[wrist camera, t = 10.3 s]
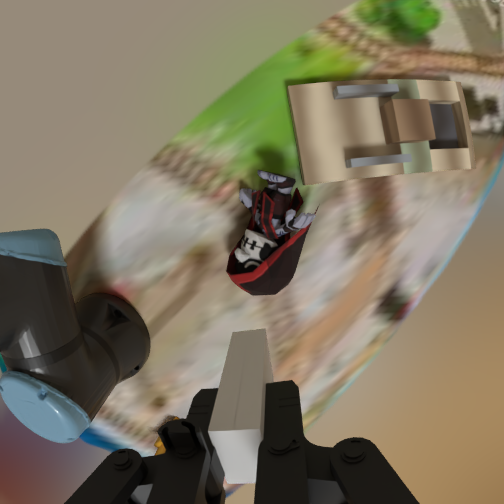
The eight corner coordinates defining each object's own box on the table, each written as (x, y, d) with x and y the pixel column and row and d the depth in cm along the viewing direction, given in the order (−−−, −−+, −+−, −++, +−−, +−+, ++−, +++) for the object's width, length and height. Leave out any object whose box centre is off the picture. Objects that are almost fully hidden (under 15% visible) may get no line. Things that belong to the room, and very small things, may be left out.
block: (385, 144, 37) (400, 140, 33) (379, 107, 36) (392, 99, 32) (418, 142, 37) (435, 139, 32) (412, 106, 36) (428, 99, 31)
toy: (287, 181, 30) (252, 319, 35) (346, 193, 36) (311, 309, 40) (223, 161, 39) (201, 273, 43) (280, 172, 45) (256, 270, 49)
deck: (302, 184, 42) (307, 185, 36) (286, 92, 40) (289, 79, 34) (465, 168, 40) (487, 168, 34) (451, 86, 37) (470, 77, 31)
